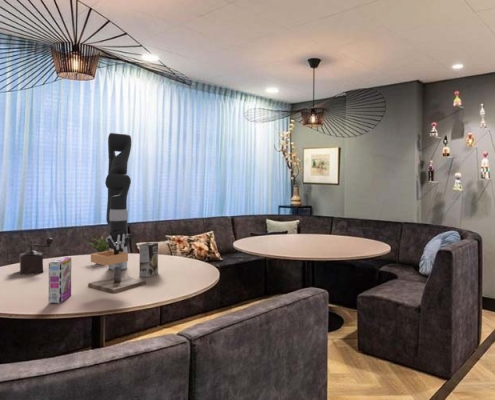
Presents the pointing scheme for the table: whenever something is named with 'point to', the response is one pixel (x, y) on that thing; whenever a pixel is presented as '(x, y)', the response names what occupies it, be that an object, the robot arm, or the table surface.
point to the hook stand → (117, 282)
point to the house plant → (101, 247)
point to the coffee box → (148, 259)
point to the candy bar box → (59, 280)
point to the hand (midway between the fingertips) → (118, 257)
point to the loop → (109, 257)
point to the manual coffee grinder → (33, 259)
